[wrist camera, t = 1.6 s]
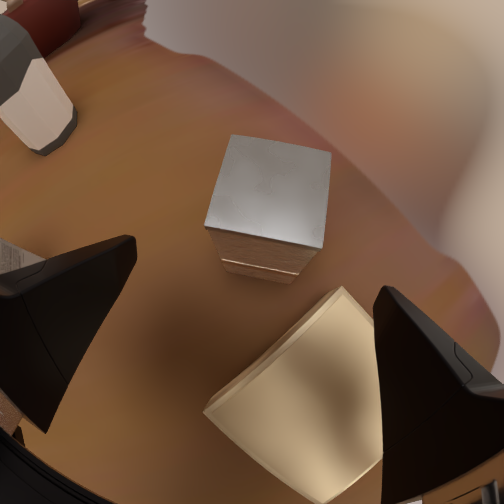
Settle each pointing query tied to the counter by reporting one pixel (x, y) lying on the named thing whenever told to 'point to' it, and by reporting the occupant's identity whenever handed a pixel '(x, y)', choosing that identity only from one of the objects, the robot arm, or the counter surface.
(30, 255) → the coffee box
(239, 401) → the maple block
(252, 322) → the counter surface
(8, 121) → the wine bottle
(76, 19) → the bucket
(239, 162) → the tea tin
